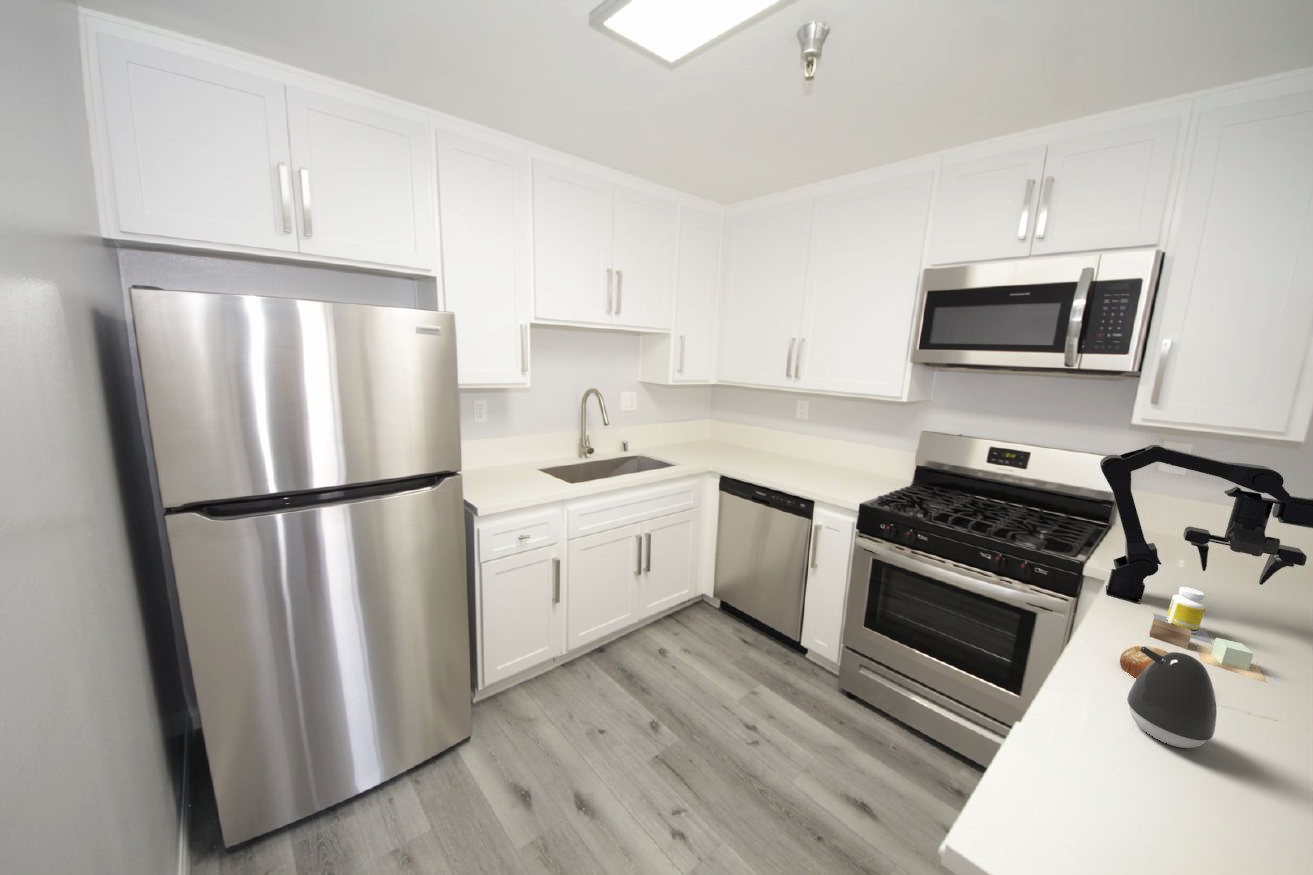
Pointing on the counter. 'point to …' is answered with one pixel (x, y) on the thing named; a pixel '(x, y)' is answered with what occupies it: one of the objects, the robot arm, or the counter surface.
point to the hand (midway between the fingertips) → (1231, 577)
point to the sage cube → (1232, 654)
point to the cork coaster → (1210, 659)
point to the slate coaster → (1200, 635)
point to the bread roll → (1137, 660)
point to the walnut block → (1170, 633)
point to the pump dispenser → (1174, 700)
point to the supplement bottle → (1186, 609)
